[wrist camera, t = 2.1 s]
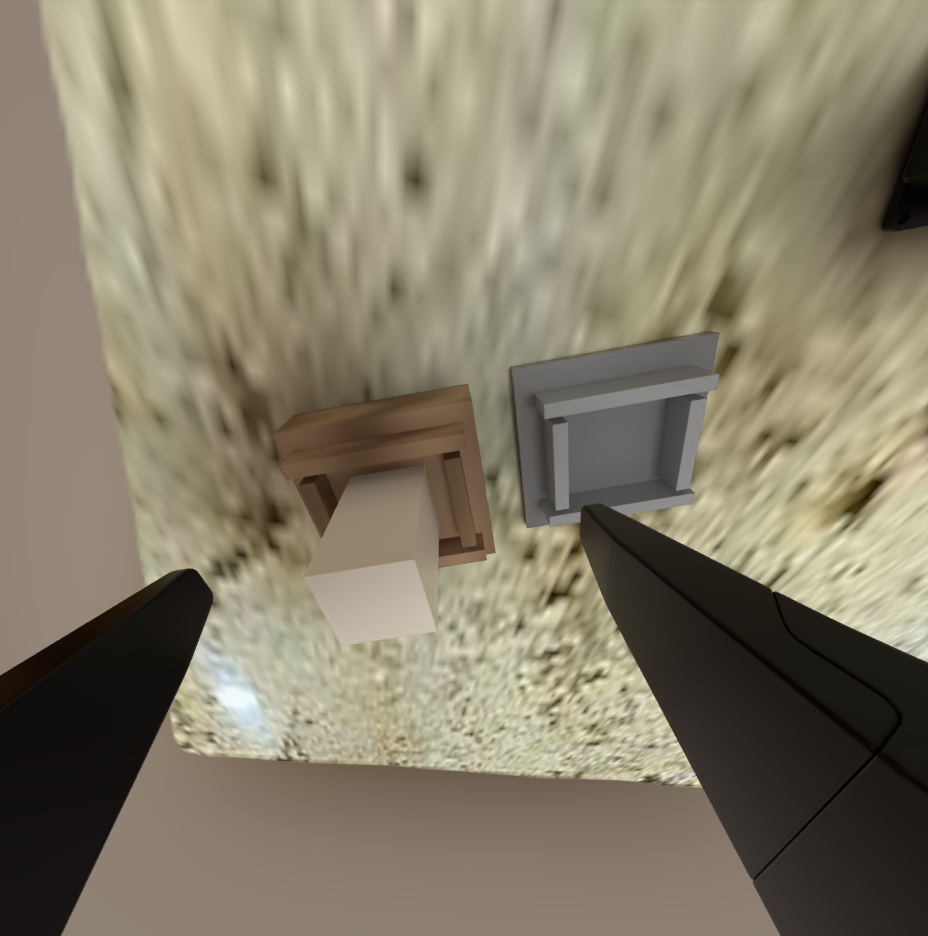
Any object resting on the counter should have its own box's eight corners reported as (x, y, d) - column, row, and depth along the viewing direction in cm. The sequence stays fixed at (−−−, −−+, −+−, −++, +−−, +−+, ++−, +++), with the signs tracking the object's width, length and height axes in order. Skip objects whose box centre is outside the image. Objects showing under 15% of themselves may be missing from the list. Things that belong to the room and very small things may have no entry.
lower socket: (711, 331, 18) (749, 338, 16) (681, 497, 24) (706, 520, 21) (510, 367, 19) (520, 379, 16) (525, 522, 24) (533, 548, 22)
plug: (424, 464, 18) (414, 559, 12) (441, 533, 20) (441, 643, 14) (350, 477, 18) (303, 577, 12) (376, 544, 20) (347, 657, 14)
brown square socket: (467, 384, 19) (473, 410, 15) (489, 523, 24) (498, 570, 20) (295, 414, 19) (257, 449, 15) (351, 545, 24) (333, 597, 20)
